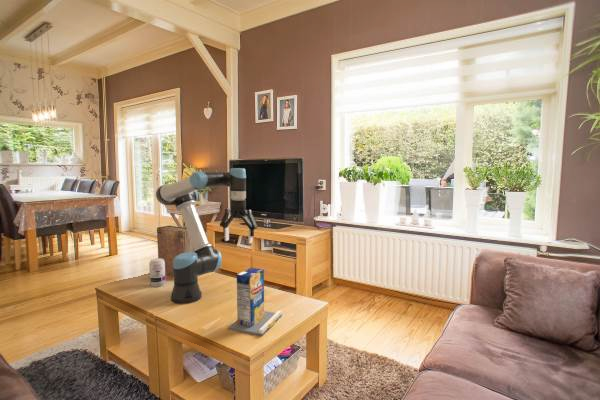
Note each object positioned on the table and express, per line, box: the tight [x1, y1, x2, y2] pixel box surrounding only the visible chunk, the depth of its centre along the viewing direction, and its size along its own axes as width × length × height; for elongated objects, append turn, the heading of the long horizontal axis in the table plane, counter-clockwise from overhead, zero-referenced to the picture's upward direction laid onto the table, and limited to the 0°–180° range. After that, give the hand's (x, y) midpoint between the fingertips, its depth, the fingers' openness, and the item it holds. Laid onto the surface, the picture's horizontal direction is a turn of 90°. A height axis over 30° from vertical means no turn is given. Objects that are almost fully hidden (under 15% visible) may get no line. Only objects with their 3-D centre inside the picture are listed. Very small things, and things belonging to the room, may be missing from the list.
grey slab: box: [227, 309, 283, 337], centre depth 148 cm, size 16×20×2 cm
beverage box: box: [236, 267, 265, 327], centre depth 147 cm, size 7×11×22 cm, turn 155°
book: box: [156, 225, 194, 278], centre depth 214 cm, size 25×9×30 cm, turn 58°
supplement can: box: [148, 257, 166, 288], centre depth 195 cm, size 8×8×15 cm
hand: (238, 241), depth 167 cm, fingers open, 13 cm apart
